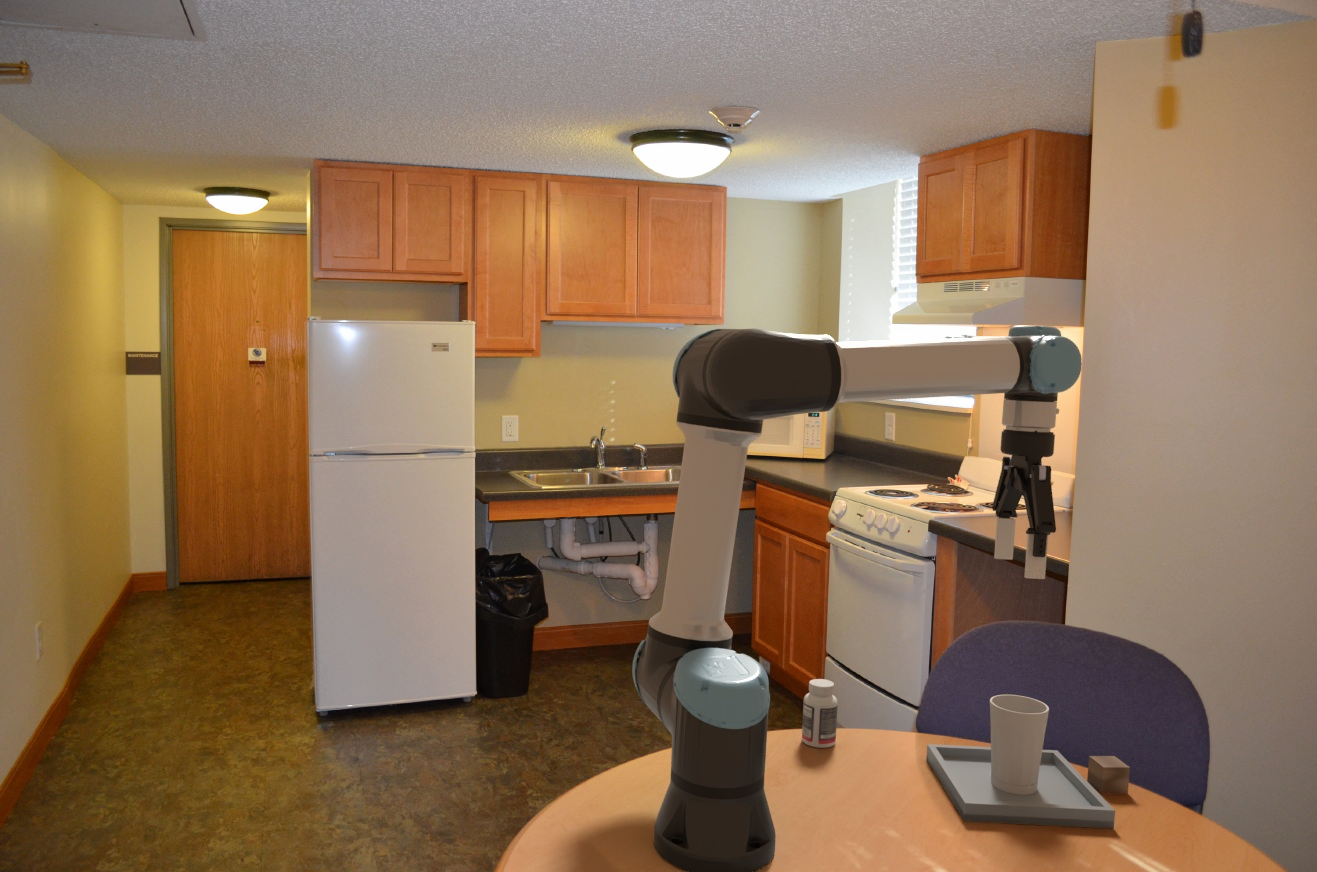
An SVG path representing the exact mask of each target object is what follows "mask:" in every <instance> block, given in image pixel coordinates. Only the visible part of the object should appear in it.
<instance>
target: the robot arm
mask: <svg viewBox="0 0 1317 872" xmlns="http://www.w3.org/2000/svg"><path fill="white" fill-rule="evenodd" d="M1082 363H1083V362H1082V354H1081V351H1080V350H1079V347H1078V346H1077V344H1076V343H1075V342H1074V341H1073V340H1071V338H1070V339H1069V338H1068V337H1065V336H1062V333H1061V331H1060V330H1059V328H1057V327H1055V326H1046V325H1014V326H1011V327H1010V329H1009V331H1008V335H1006V336H1005V335H997V336H996V335H992V336H991V335H989V336H986V335H985V336H984V335H983V336H980V335H978V336H977V335H968V334H962V335H949V336H945V337H944V338H931V339H930V338H929V339H927V338H926V339H925V338H924V339H923V338H922V339H896V340H866V341H860V340H859V341H836V340H835V339H834V338H833V337H832V336H830V335H828V334H800V333H791V332H790V333H789V332H780V331H774V330H767V329H760V328H716V329H710V330H707V331H706V332H702V333H699V334H698V335H696V336H694V337H693V338H691V339H690V340H688V341H687V342H686V343H685V344H684V345H683V347H682V348H681V349H680V351H679V352H678V353H677V355H676V357H675V361H674V363H673V367H672V383H673V389H674V390H675V393H676V395H677V398H678V407H677V414H676V415H677V416H676V421H675V423H676V425H677V427H678V428H679V429H680V431H681V432H682V433H683V435H684V445H683V453H682V458H681V459H682V460H681V467H680V475H679V481H678V489H677V497H676V504H675V510H674V518H673V524H672V532H671V540H670V547H669V548H670V549H669V555H668V561H667V568H666V576H665V584H664V590H663V597H662V598H663V599H662V604H661V609H660V611H659V612H656V613H655V614H654V615H653V616H652V617H650V618H649V620H648V625H647V633H646V636H645V639H643V640H641V642H640V643H639V645H638V646H637V649H636V650H635V653H634V657H633V660H632V668H631V669H632V680H633V683H634V686H635V689H636V691H637V693H638V694H639V698H640V699H641V701H642V703H643V704H644V705H645V707H647V708H648V710H649V711H650V712H652V714H654V715H655V716H656V718H657V719H658V720H659V721H660V722H661V723H662V724H663V726H664V727H665V728H666V730H667V731H668V732H669V733H670V734H671V755H670V756H671V758H670V759H671V761H670V781H669V784H668V787H667V790H666V793H665V795H664V797H663V800H662V802H661V805H660V807H659V810H658V813H657V816H656V819H655V821H654V826H653V827H654V830H653V845H654V848H655V851H656V853H658V855H659V856H660V857H661V858H662V859H663V860H664V861H666V862H667V863H669V864H670V865H672V866H674V867H676V868H679V869H680V870H683V871H686V872H756V871H758V870H760V869H763V868H764V867H766V866H768V865H769V863H770V862H771V861H772V859H773V858H774V856H775V851H776V838H777V837H776V836H777V835H776V829H775V825H774V822H773V819H772V814H771V811H770V810H771V809H770V807H769V806H770V805H769V802H768V799H767V795H766V792H765V773H766V771H765V770H766V757H767V754H766V753H767V741H768V725H769V724H768V723H769V721H768V720H769V710H770V705H771V704H770V703H771V694H770V689H769V688H770V687H769V685H770V683H769V682H770V681H769V678H768V673H767V672H766V670H765V668H764V667H763V666H762V664H761V663H760V662H759V661H757V659H754V658H753V657H751V656H750V655H747V654H745V653H737V651H735V650H733V649H732V643H733V642H732V641H733V634H734V632H733V629H731V627H730V626H729V625H728V623H727V621H725V612H726V604H727V597H728V590H729V585H730V576H731V571H732V570H731V569H732V563H733V562H732V561H733V556H734V555H733V554H734V549H735V541H736V535H737V525H738V519H739V513H740V506H741V499H742V493H743V492H742V491H743V486H744V485H743V484H744V477H745V472H746V471H745V470H746V465H747V457H748V450H749V447H750V445H751V444H752V443H753V442H755V441H756V440H757V439H758V438H759V437H761V436H762V433H763V425H764V420H768V419H769V420H771V419H775V418H782V417H788V416H794V415H803V414H811V413H812V414H813V413H823V412H830V411H832V410H834V409H835V407H837V405H838V404H840V403H850V402H851V403H855V402H856V403H857V402H871V401H872V402H873V401H874V402H875V401H876V402H877V401H889V400H891V401H892V400H904V399H905V400H906V399H909V400H910V399H924V398H942V397H945V398H946V397H959V396H979V395H994V394H995V395H996V394H1004V396H1003V403H1002V404H1003V405H1002V416H1001V424H1002V426H1005V428H1004V429H1003V430H1001V434H1000V435H1001V437H1000V453H1002V454H1004V455H1008V456H1003V457H1002V461H1001V462H1002V463H1001V471H1000V475H999V479H998V483H997V487H996V490H995V495H994V499H993V503H992V511H993V512H995V516H996V528H995V542H994V555H993V559H995V560H1009V561H1010V560H1013V559H1014V549H1015V548H1014V546H1015V532H1016V521H1017V520H1016V518H1018V512H1017V508H1018V506H1019V503H1020V501H1021V498H1022V497H1023V499H1024V500H1023V501H1024V504H1025V511H1026V514H1027V520H1028V524H1029V527H1027V529H1026V531H1025V534H1027V536H1026V538H1027V539H1026V549H1025V550H1026V551H1025V565H1024V576H1023V577H1024V578H1025V579H1032V580H1033V579H1035V580H1037V579H1038V580H1045V579H1046V570H1047V557H1048V556H1047V555H1048V544H1049V543H1048V542H1049V536H1050V535H1051V534H1052V533H1053V534H1055V533H1056V531H1057V524H1056V515H1055V507H1054V498H1053V497H1054V496H1053V490H1052V467H1051V465H1044V464H1042V463H1043V462H1042V459H1043V458H1049V457H1052V456H1053V455H1054V453H1055V438H1056V434H1055V433H1054V432H1053V431H1051V430H1052V429H1054V428H1055V427H1056V422H1057V415H1059V413H1060V409H1059V408H1058V407H1057V406H1058V399H1059V398H1058V395H1059V393H1060V394H1061V393H1063V392H1065V391H1068V390H1069V389H1071V388H1072V387H1073V386H1074V385H1075V384H1076V383H1077V381H1078V380H1079V378H1080V375H1081V372H1082V365H1083V364H1082Z"/></svg>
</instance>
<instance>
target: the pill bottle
mask: <svg viewBox="0 0 1317 872" xmlns="http://www.w3.org/2000/svg"><path fill="white" fill-rule="evenodd" d="M808 691H809V692H808V693H806V694H805V695H804V697H803V707H802V709H803V710H802V727H801V728H802V729H801V739H802V742H803V743H804V744H805V745H807V746H809V747H811V748H812V747H813V748H821V749H822V748H824V749H825V748H831V747H833V746H835V744H836V742H837V741H836V738H837V737H836V736H837V724H838V723H837V722H838V721H837V720H838V708H839V707H838V706H839V705H838V702H839V701H838V698H837V697H836V696H835V695H834V693H835V683H834V682H833V681H831V680H829V679H825V678H824V679H823V678H816V679H815V678H814V679H811V680H809V682H808Z"/></svg>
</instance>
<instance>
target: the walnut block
mask: <svg viewBox="0 0 1317 872" xmlns="http://www.w3.org/2000/svg"><path fill="white" fill-rule="evenodd" d="M1130 769H1131V767H1130V766H1129V765H1127V764H1126V763H1125V762H1123V761H1122V760H1120V759H1119V758H1118V757H1116V756H1115V755H1089V756H1088V766H1087V780H1086V781H1087V782H1088V783H1089V784H1090V785H1091V786H1092V787H1093V788H1094V789H1095V790H1096V791H1097V792H1098V793H1100V794H1129V783H1130V772H1131V771H1130Z"/></svg>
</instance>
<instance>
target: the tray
mask: <svg viewBox="0 0 1317 872" xmlns="http://www.w3.org/2000/svg"><path fill="white" fill-rule="evenodd" d="M926 745H927V747H926V757H925V758H926V759H925V760H926V762H927V764H928V765H929V766H930V768H931V770H932V772H933V773H934V774H935V777H936V778H937V780H938V781H939V783H940V784H941V786H942V788H943V789H944V792H946V794H947V796H948V797H949V799H950V801H951V802H952V804H953V805H954V807H955V809H956V810H957V812H958V814H959V816H960V817H961V818H962V820H963V822H976V823H994V824H996V823H997V824H1017V825H1037V826H1051V827H1052V826H1056V827H1074V828H1075V827H1078V828H1079V827H1080V828H1092V829H1093V828H1094V829H1115V819H1116V810H1115V808H1114V807H1113V806H1111V804H1110V803H1109V802H1108V801H1107V800H1106V799H1105V798H1104V797H1103V796H1102V795H1101V793H1100V792H1099V791H1098V790H1097V789H1096V788H1094V787H1093V786H1092V785H1091V784H1090V783H1088V782H1087V780H1086V778H1085V777H1084V776H1082V774H1081V773H1080V772H1079V771H1078V770H1077V769H1076V768H1075V767H1074V766H1073V765H1072V764H1071V763H1070V762H1069V761H1068V760H1067V759H1066V757H1064V756H1063V755H1062V753H1061V752H1060V751H1059V750H1057V749H1055V750H1053V749H1042V756H1041V762H1040V769H1039V775H1038V785H1037V791H1036V792H1035V793H1033V794H1029V795H1018V794H1012V793H1008V792H1004V791H1002V790H999V789H997V788H996V787H994V786H993V785H992V784H991V746H975V745H973V746H972V745H956V744H955V745H954V744H953V745H952V744H934V743H932V744H931V743H927V744H926Z"/></svg>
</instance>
